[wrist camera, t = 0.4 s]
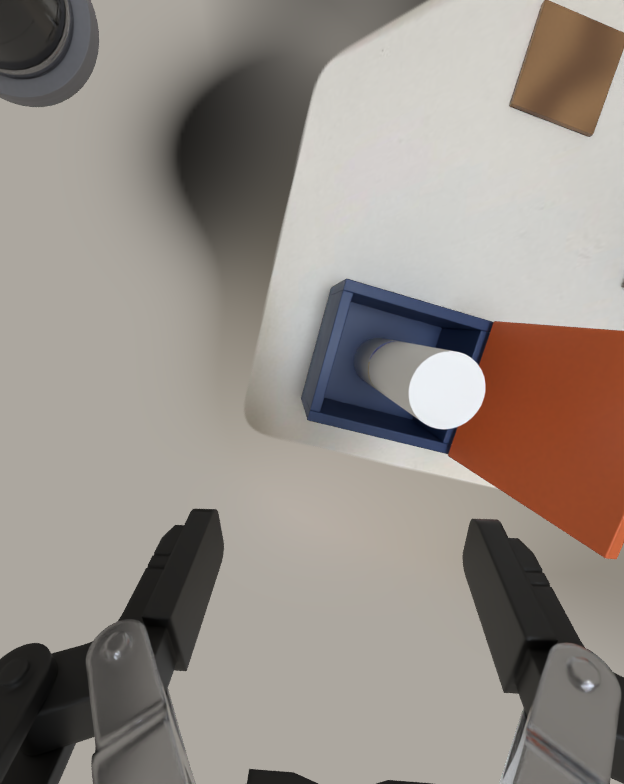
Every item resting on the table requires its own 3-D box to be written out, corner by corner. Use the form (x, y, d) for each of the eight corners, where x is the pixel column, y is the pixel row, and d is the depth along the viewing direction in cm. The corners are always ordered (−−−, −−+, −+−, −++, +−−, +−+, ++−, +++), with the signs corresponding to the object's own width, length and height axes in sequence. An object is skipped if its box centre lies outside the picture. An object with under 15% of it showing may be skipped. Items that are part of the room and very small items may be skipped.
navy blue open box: (300, 398, 36) (307, 420, 29) (331, 287, 34) (346, 278, 27) (414, 427, 38) (449, 454, 30) (448, 321, 36) (494, 322, 28)
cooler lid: (605, 559, 18) (617, 560, 18) (701, 336, 16) (713, 341, 16) (447, 455, 29) (455, 457, 30) (493, 320, 28) (502, 323, 28)
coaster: (509, 106, 33) (511, 103, 33) (542, 2, 32) (545, -2, 31) (589, 136, 34) (593, 134, 34) (624, 38, 33) (629, 34, 32)
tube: (393, 387, 36) (473, 435, 21) (349, 379, 35) (400, 421, 21) (404, 343, 35) (495, 359, 21) (359, 333, 35) (420, 343, 20)
